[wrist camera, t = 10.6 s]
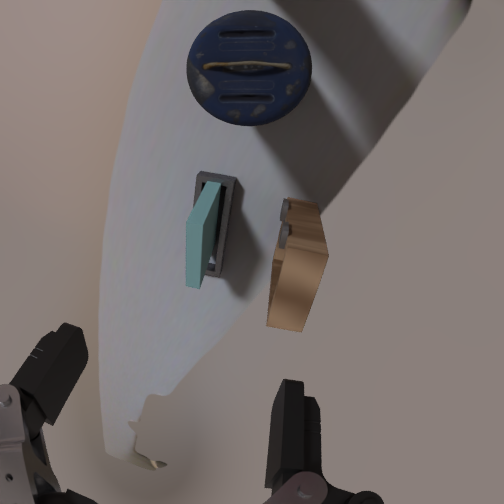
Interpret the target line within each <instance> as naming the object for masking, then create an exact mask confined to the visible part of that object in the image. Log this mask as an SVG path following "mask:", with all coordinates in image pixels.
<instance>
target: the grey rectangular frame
mask: <svg viewBox="0 0 504 504" xmlns="http://www.w3.org/2000/svg"><path fill="white" fill-rule="evenodd" d="M207 181H211V182H216V183H221V185H222V186H227V187H226V194H225V201H224V207H223V214H222V221H221V228H220V235H219V242H218V250H217V257H216V264H212V263H208V266H207V269H206V272H205V274H206V275H210V276H215V277H220V274H221V271H222V265H223V258H224V252H225V245H226V238H227V232H228V225H229V219H230V213H231V206H232V200H233V194H234V188H235V181H236V177H232V176H227V175H221V174H215V173H210V172H204V171H200V172H199V173H198V174H197V177H196V186H195V195H194V204H193V208H194V206H195V204H196V202H197V200H198V198H199V196H200V194H201V192H202V190H203V188H204V186H205V183H207Z"/></svg>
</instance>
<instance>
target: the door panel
mask: <svg viewBox="0 0 504 504" xmlns="http://www.w3.org/2000/svg"><path fill="white" fill-rule="evenodd" d="M220 190H221V183H216V182H211V181H207V183H206V184H205V186H204V188H203V190H202V192H201V194H200V196H199V198H198V200H197V202H196V204H195V206H194V208H193V210H192V212H191V214H190V216H189V218H188V220H187V222H186V286H188V287H192V288H197V289H200V287H201V284H202V281H203V278H204V275H205V272H206V269H207V266H208V263H209V260H210V257H211V254H212V251H213V248H214V245H215V240H216V230H217V219H218V209H219V199H220Z"/></svg>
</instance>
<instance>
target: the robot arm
mask: <svg viewBox="0 0 504 504" xmlns="http://www.w3.org/2000/svg"><path fill="white" fill-rule="evenodd" d="M87 361H88V350H87V346H86V342H85V339H84V334H83V331H82V329H81V328H80V327H76V326H74V325H71V324H68V323H63V324H62V325H61V326H60V327H59V329H58V330H57V331H56V332H53V331H51V332H50V333H48V334H47V335H45V336H44V337H43V338H41V340H40V341H39V343H38V344H37V345H36V346H35V349H33V351H32V352H31V353H30V356H28V358H27V359H26V361H25V362H24V363H23V365H22V366H21V368H20V369H19V371H18V372H17V373H16V375H15V377H14V378H13V379H12V381H11V382H10V383H9V384H2V385H0V504H97V503H96V502H95V501H94V500H92V499H89V498H87V497H85V496H82V495H80V494H78V493H75V492H74V491H71V490H69V489H67V491H66V493H65V492H61V489H60V485H59V483H58V480H57V478H56V476H55V475H54V473H53V471H52V468H51V465H50V461H49V457H48V453H47V449H46V444H45V440H44V435H43V430H42V426H43V424H44V422H46V423H48V424H50V425H52V426H53V425H54V423H55V421H56V419H57V417H58V416H59V413H60V412H61V410H62V408H63V406H64V404H65V402H66V401H67V399H68V397H69V395H70V393H71V391H72V390H73V388H74V386H75V384H76V382H77V380H78V379H79V377H80V375H81V373H82V372H83V370H84V368H85V366H86V364H87ZM320 422H321V420H320V408H319V406H318V404H317V402H316V400H315V398H314V397H307V396H304V383H303V382H302V381H295V380H288V379H283V381H282V383H281V385H280V388H279V391H278V392H277V395H276V397H275V400H274V403H273V407H272V412H271V423H270V436H269V447H268V457H267V469H266V479H265V488H271V489H272V495H271V497H270V498H269V499H268V500H267V501H266V502H265V503H263V504H384V502H383V500H382V499H381V497H380V496H379V495H377V494H376V493H374V492H371V491H362V492H359V493H357V494H354V493H351V492H348V491H345V490H341V489H338V488H336V487H334V486H332V485H331V484H329V483H328V482H327V481H326V479H325V478H324V476H323V473H322V467H321V434H320V432H321V424H320Z"/></svg>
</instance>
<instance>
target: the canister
mask: <svg viewBox="0 0 504 504" xmlns="http://www.w3.org/2000/svg"><path fill="white" fill-rule="evenodd" d="M311 75H312V61H311V55H310V51H309V49H308V46H307V44H306V42H305V40H304V38H303V37H302V36H301V34H300V33H299V32H298V31H297V30H296V29H295V28H294V27H293V26H292V25H291V24H290V23H289V22H287V21H286V20H284V19H282V18H280V17H279V16H276V15H274V14H271V13H268V12H263V11H256V10H245V11H238V12H233V13H229V14H227V15H224V16H222V17H220V18H219V19H216V20H214V21H213V22H211V23H210V24H209V25H207V26H206V27H205V28H204V29H203V30H202V31H201V32H200V33H199V35H198V36H197V37H196V39H195V41H194V42H193V44H192V47H191V49H190V52H189V55H188V59H187V79H188V83H189V86H190V89H191V92H192V94H193V96H194V97H195V99H196V100H197V102H198V103H199V104H200V105H201V106H202V107H203V108H204V109H205V110H206V111H207V112H208V113H210V114H211V115H212V116H214V117H216V118H218V119H220V120H222V121H224V122H227V123H230V124H234V125H240V126H257V125H263V124H267V123H270V122H273V121H275V120H278V119H280V118H281V117H283V116H285V115H286V114H288V113H289V112H290V111H292V110H293V109H294V108H295V107H296V106H297V105H298V104H299V102H300V101H301V100H302V98H303V97H304V95H305V94H306V92H307V90H308V87H309V85H310V81H311Z"/></svg>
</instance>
